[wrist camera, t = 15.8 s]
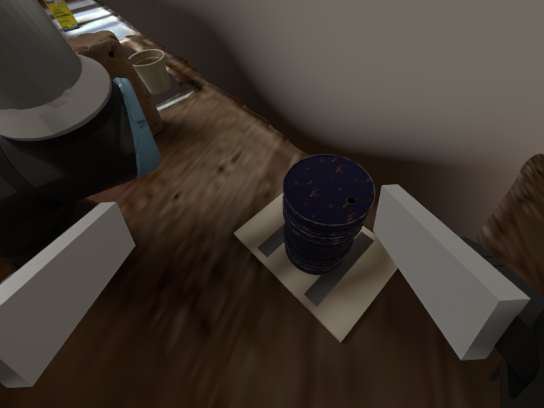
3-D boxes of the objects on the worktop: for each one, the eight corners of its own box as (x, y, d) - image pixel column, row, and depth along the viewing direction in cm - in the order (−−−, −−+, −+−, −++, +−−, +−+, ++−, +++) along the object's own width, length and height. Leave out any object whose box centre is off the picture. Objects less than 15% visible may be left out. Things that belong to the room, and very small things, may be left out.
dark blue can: (271, 246, 38) (262, 188, 25) (309, 208, 41) (318, 141, 29) (321, 290, 33) (340, 246, 21) (359, 243, 37) (394, 182, 25)
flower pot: (176, 78, 72) (164, 46, 65) (177, 94, 66) (164, 61, 59) (145, 83, 71) (129, 52, 64) (143, 100, 66) (125, 68, 58)
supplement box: (64, 32, 100) (42, -1, 91) (64, 27, 103) (42, -5, 94) (79, 28, 101) (59, -5, 92) (78, 24, 104) (58, -8, 95)
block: (159, 117, 61) (111, 24, 44) (169, 131, 57) (120, 37, 40) (117, 133, 58) (48, 41, 41) (124, 150, 54) (52, 56, 37)
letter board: (234, 234, 40) (233, 232, 39) (298, 182, 46) (298, 179, 45) (340, 342, 30) (341, 342, 30) (404, 258, 36) (406, 256, 35)
